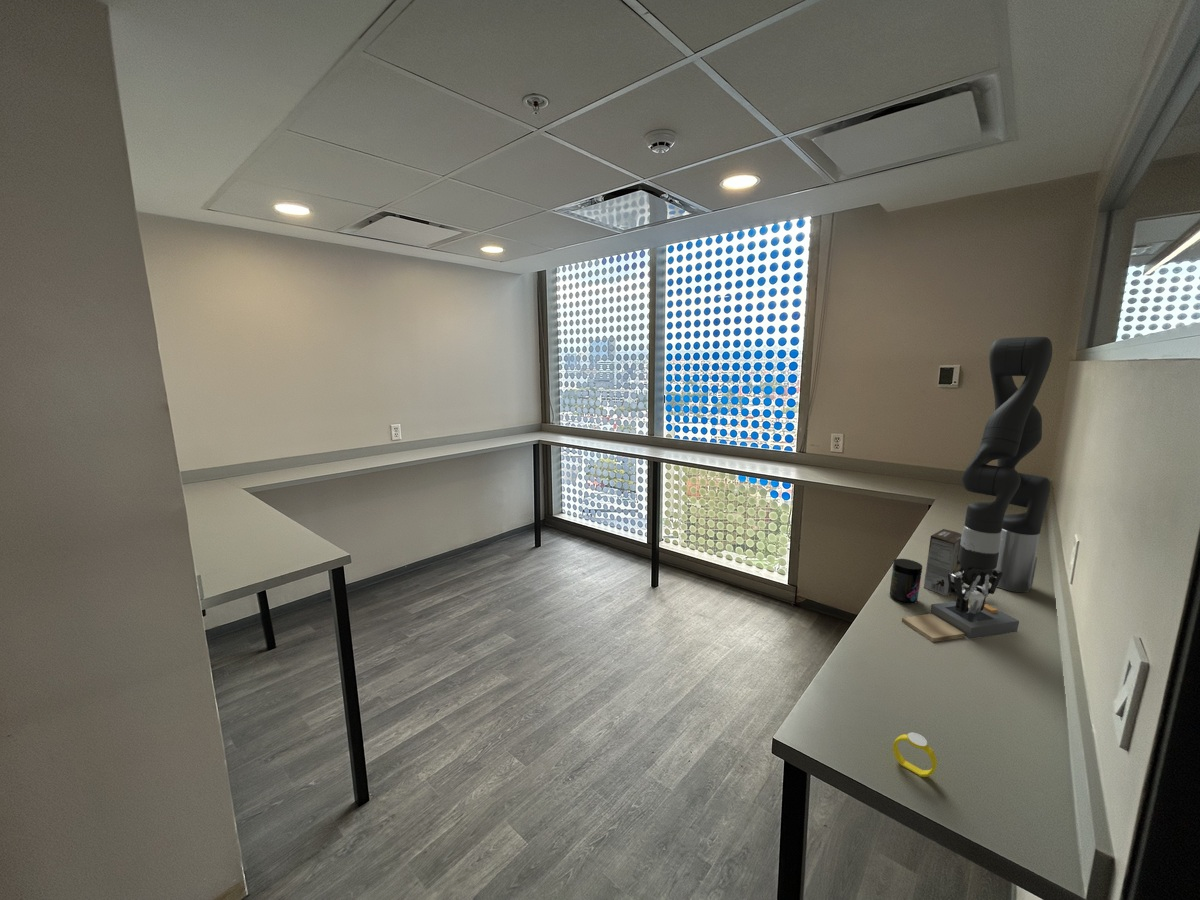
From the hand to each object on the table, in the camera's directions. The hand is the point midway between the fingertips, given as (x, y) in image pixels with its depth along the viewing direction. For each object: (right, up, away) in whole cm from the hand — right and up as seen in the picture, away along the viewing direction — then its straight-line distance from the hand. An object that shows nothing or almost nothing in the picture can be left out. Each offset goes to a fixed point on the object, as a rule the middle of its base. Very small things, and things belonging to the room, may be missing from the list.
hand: (969, 610), depth 120 cm
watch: (-41, -13, -40) cm, 59 cm away
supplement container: (-8, -1, +13) cm, 16 cm away
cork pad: (-10, -4, -1) cm, 11 cm away
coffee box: (+7, 0, +19) cm, 20 cm away
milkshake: (0, -4, +1) cm, 4 cm away
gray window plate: (+2, -4, +1) cm, 4 cm away
